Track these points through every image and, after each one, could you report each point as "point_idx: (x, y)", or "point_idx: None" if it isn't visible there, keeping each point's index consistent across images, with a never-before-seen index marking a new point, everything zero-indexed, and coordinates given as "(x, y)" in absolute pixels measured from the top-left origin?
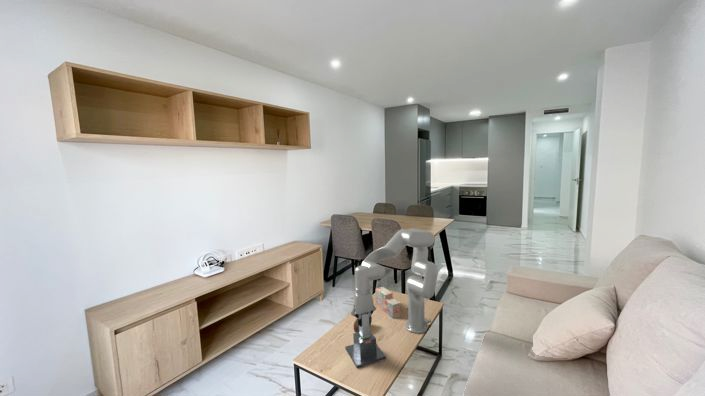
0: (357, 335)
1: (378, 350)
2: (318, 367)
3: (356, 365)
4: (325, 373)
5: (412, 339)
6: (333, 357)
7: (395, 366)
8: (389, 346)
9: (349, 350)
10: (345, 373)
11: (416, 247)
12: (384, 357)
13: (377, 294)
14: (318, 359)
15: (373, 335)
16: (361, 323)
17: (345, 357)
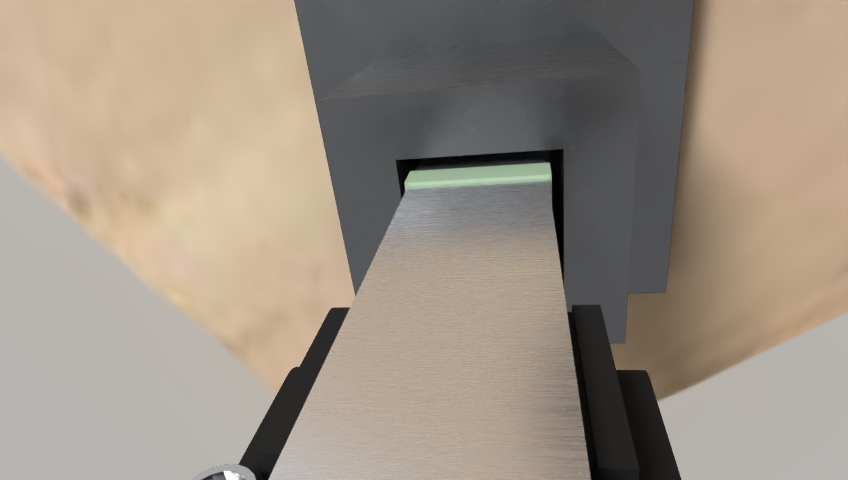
0: (377, 179)
1: (643, 189)
2: (48, 162)
3: (356, 285)
4: (114, 246)
5: None
6: (168, 76)
7: (679, 376)
8: (835, 109)
9: (326, 72)
10: (264, 299)
11: None
12: (645, 287)
13: None
14: (25, 54)
15: (625, 270)
16: None
17: (285, 118)
